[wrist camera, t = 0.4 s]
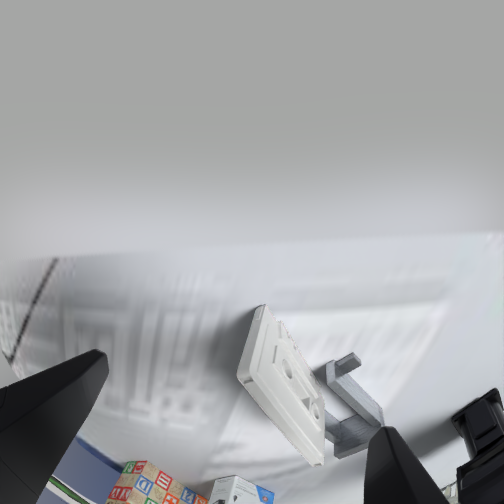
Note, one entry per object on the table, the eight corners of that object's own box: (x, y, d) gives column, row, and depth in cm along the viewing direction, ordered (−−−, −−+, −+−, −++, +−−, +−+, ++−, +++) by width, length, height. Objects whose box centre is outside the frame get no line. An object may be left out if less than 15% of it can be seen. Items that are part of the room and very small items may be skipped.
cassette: (329, 398, 25) (330, 465, 18) (311, 403, 25) (308, 469, 18) (271, 299, 22) (255, 369, 15) (250, 308, 23) (226, 377, 16)
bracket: (396, 400, 24) (403, 431, 20) (325, 434, 27) (324, 464, 23) (350, 349, 22) (355, 383, 19) (271, 392, 26) (265, 425, 22)
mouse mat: (102, 511, 73) (101, 513, 72) (78, 501, 80) (77, 503, 79) (53, 475, 67) (52, 477, 66) (34, 467, 73) (33, 468, 72)
